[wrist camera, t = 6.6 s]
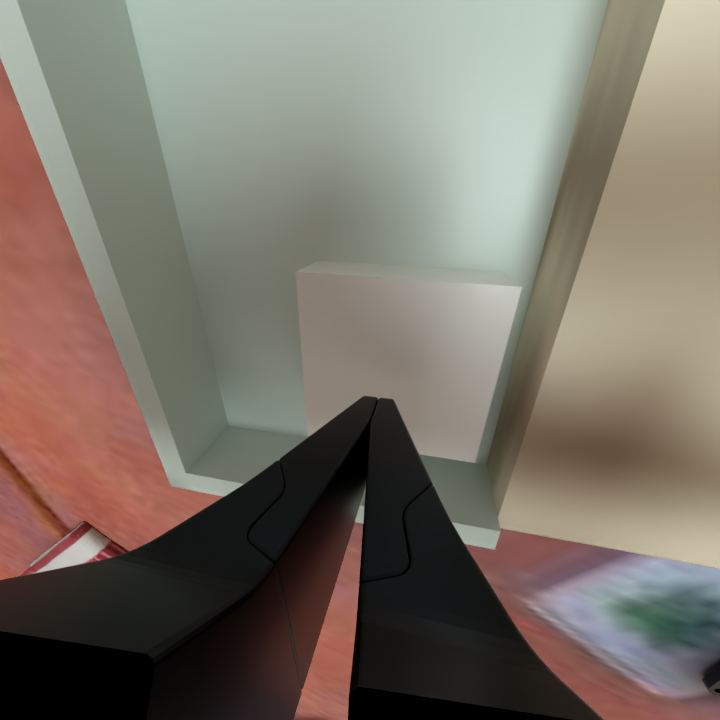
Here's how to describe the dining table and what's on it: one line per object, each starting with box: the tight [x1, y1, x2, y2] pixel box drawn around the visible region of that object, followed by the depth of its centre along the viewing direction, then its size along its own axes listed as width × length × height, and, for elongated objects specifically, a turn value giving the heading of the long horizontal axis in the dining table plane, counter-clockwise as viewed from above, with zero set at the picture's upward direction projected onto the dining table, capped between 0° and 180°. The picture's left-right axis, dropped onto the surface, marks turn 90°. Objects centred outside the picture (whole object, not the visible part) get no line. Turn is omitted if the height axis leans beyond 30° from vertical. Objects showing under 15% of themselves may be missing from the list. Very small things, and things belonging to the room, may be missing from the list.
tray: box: [0, 0, 608, 550], centre depth 8 cm, size 21×13×4 cm, turn 0°
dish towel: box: [21, 522, 128, 576], centre depth 29 cm, size 17×23×3 cm
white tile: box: [296, 261, 522, 463], centre depth 10 cm, size 6×6×2 cm
